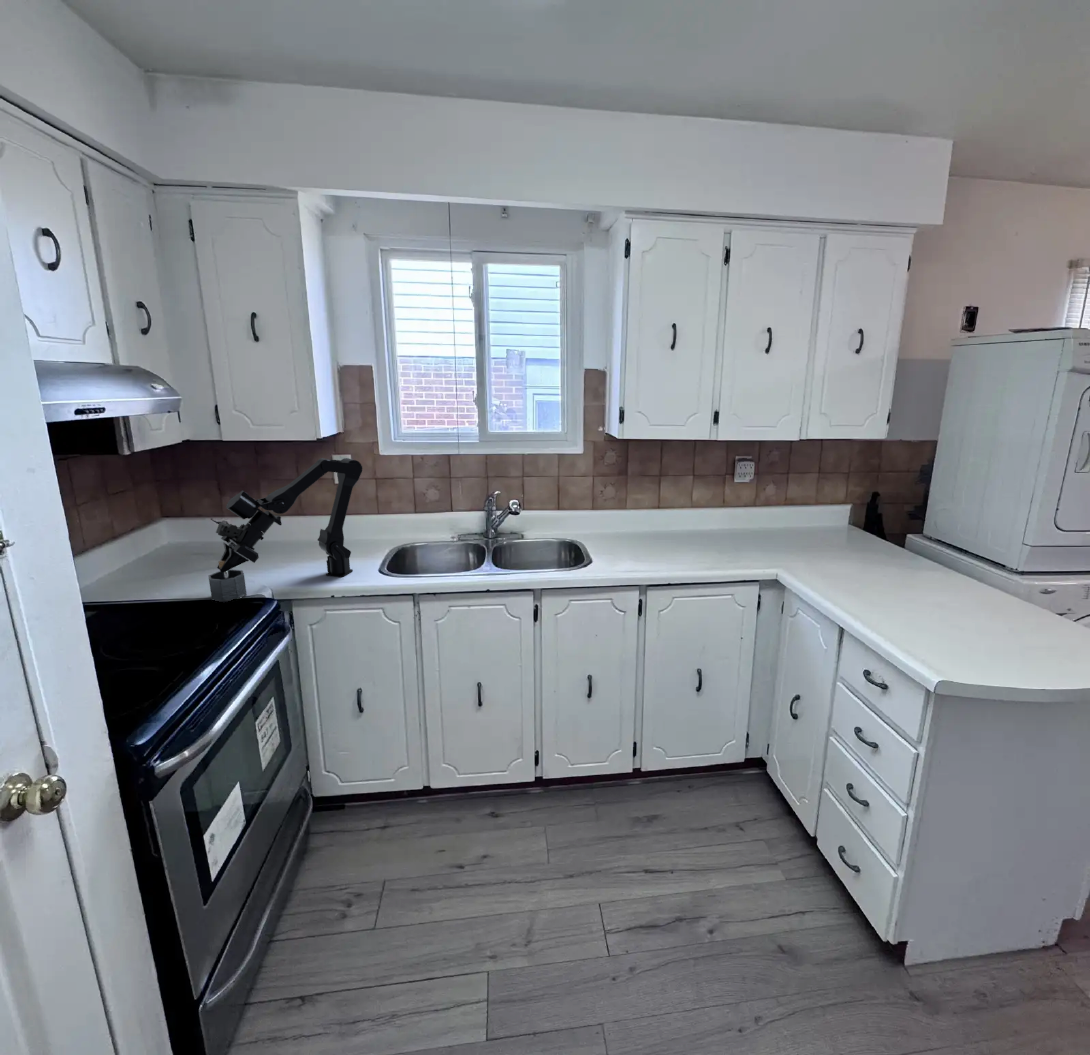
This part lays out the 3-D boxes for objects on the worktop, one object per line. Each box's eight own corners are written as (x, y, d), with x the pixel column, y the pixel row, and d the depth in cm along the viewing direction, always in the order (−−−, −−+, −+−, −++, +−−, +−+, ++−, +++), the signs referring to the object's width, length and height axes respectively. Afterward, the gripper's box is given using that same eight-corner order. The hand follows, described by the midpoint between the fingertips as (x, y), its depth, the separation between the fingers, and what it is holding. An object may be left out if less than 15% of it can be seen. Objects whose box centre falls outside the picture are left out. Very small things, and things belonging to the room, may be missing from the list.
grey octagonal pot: (253, 592, 170) (250, 571, 168) (231, 603, 161) (228, 581, 160) (227, 590, 172) (224, 568, 170) (204, 601, 163) (200, 578, 161)
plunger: (246, 591, 169) (242, 558, 166) (230, 599, 163) (225, 565, 160) (227, 589, 170) (223, 556, 168) (210, 597, 164) (205, 563, 161)
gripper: (224, 507, 169) (188, 548, 165) (241, 518, 156) (201, 563, 152) (255, 527, 177) (221, 568, 172) (274, 540, 163) (237, 584, 159)
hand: (219, 570), depth 164 cm, fingers closed on plunger, 3 cm apart
